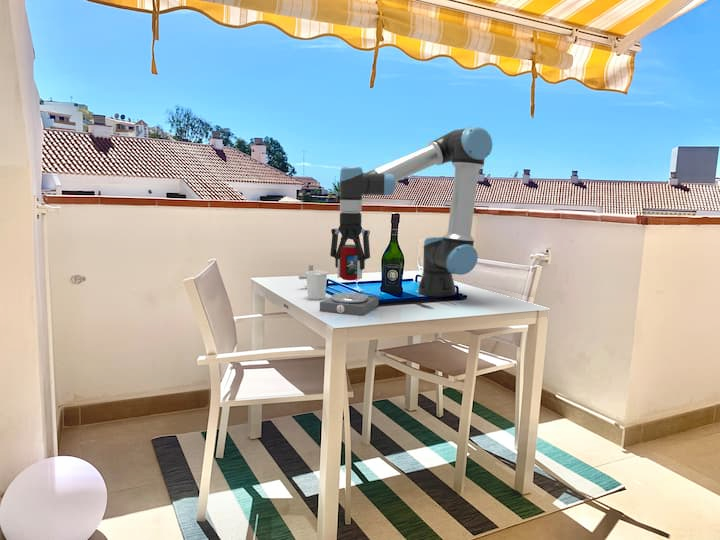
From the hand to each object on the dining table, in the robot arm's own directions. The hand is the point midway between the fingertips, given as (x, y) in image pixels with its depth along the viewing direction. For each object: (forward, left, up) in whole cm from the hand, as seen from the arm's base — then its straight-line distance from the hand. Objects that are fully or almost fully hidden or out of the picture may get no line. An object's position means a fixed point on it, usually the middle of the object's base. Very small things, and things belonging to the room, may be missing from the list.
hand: (349, 277), depth 175 cm
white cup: (+18, -10, -11) cm, 23 cm away
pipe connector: (+28, -25, -11) cm, 39 cm away
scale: (0, 0, -11) cm, 11 cm away
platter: (0, 0, -8) cm, 8 cm away
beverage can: (0, 0, -1) cm, 1 cm away
